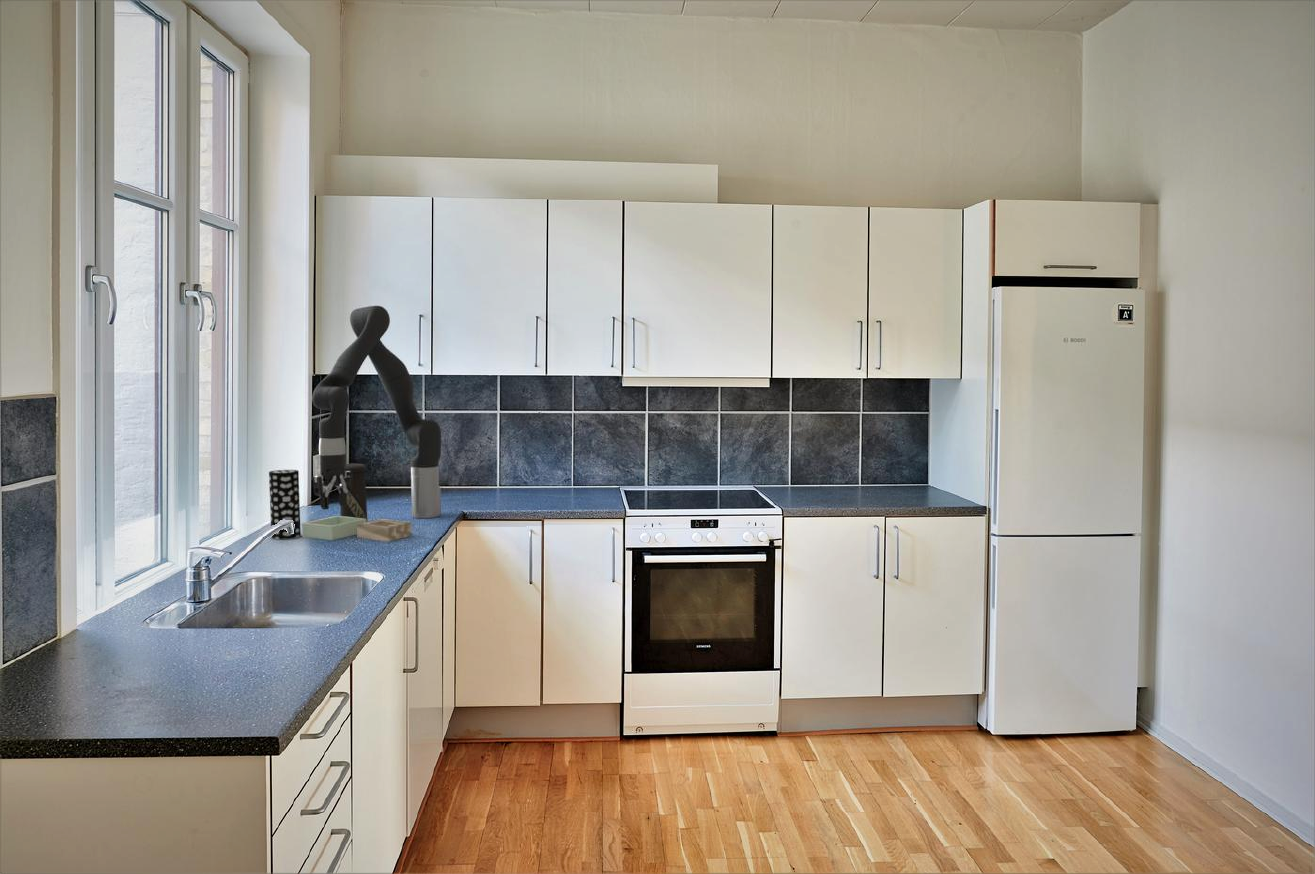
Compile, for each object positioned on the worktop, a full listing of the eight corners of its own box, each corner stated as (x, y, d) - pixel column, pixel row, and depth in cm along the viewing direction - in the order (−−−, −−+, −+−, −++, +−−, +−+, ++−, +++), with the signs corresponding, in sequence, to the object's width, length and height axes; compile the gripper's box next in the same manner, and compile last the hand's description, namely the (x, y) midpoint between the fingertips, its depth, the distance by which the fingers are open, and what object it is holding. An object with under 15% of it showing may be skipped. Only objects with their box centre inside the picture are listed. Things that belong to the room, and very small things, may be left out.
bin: (337, 531, 287) (337, 515, 287) (366, 534, 282) (366, 518, 282) (302, 539, 275) (302, 523, 274) (332, 543, 270) (331, 526, 269)
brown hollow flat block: (381, 534, 282) (380, 517, 282) (411, 538, 277) (411, 521, 276) (357, 540, 273) (356, 523, 273) (388, 544, 268) (387, 526, 267)
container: (334, 526, 296) (332, 464, 294) (350, 521, 304) (348, 461, 302) (358, 527, 294) (356, 465, 292) (373, 522, 302) (371, 462, 300)
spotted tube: (306, 534, 282) (304, 470, 280) (288, 540, 274) (286, 473, 272) (283, 533, 284) (281, 469, 282) (265, 538, 276) (262, 472, 275)
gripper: (341, 449, 284) (342, 503, 286) (304, 454, 271) (306, 510, 273) (359, 451, 281) (360, 504, 282) (323, 455, 268) (325, 512, 270)
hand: (334, 507), depth 278 cm, fingers open, 6 cm apart
